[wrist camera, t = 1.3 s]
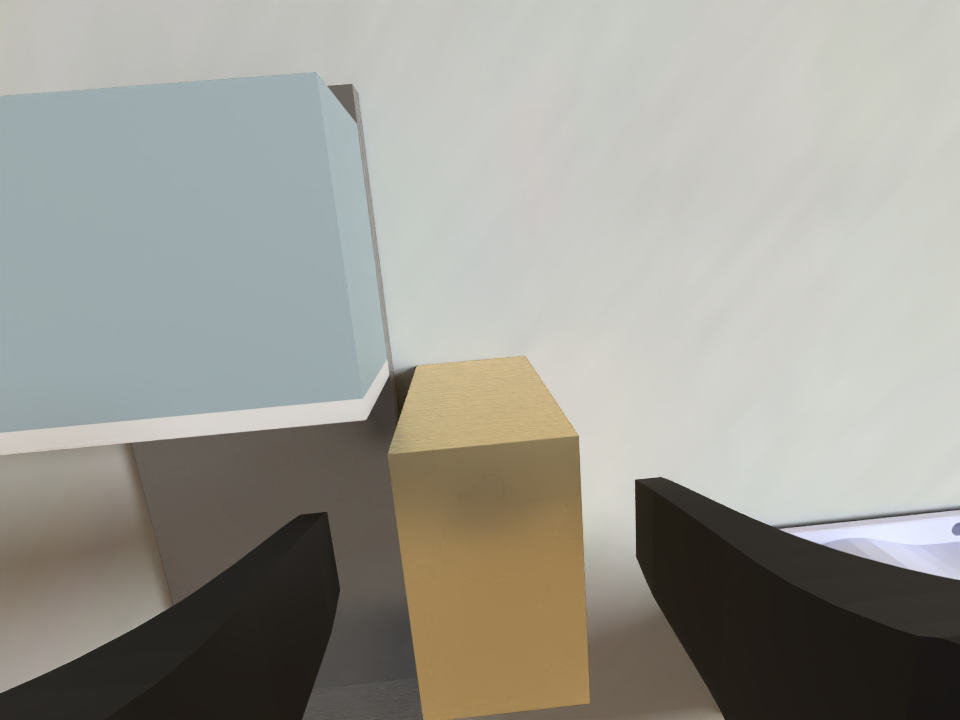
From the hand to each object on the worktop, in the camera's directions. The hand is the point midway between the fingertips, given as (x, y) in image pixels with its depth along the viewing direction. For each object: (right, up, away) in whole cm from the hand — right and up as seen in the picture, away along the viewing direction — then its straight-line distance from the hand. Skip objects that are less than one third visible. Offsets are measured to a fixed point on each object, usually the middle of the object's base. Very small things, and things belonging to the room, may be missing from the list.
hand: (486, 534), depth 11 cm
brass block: (0, +1, +5) cm, 5 cm away
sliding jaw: (-7, +7, +3) cm, 10 cm away
